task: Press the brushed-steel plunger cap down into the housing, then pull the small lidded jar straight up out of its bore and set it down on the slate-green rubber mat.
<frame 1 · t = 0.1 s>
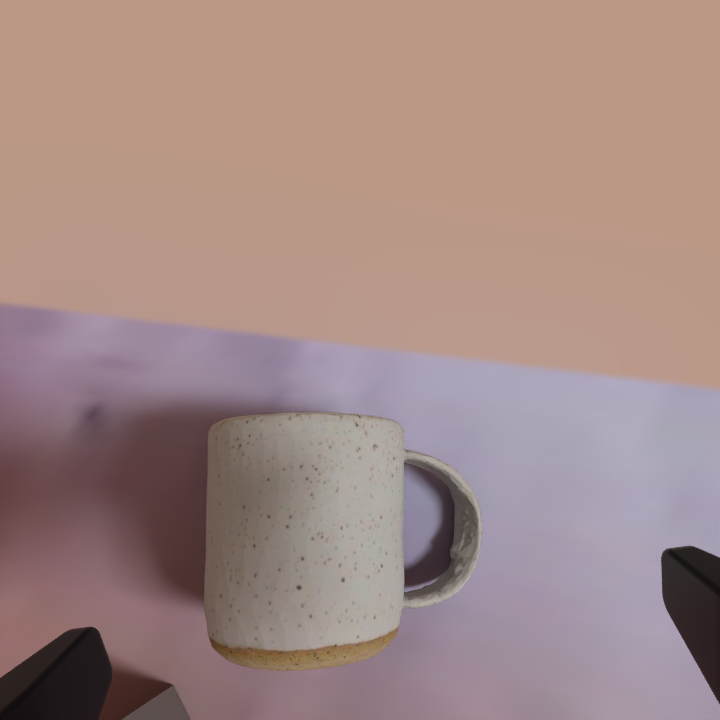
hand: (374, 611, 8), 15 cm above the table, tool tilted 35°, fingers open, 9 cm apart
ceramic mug: (353, 520, 23), on the table
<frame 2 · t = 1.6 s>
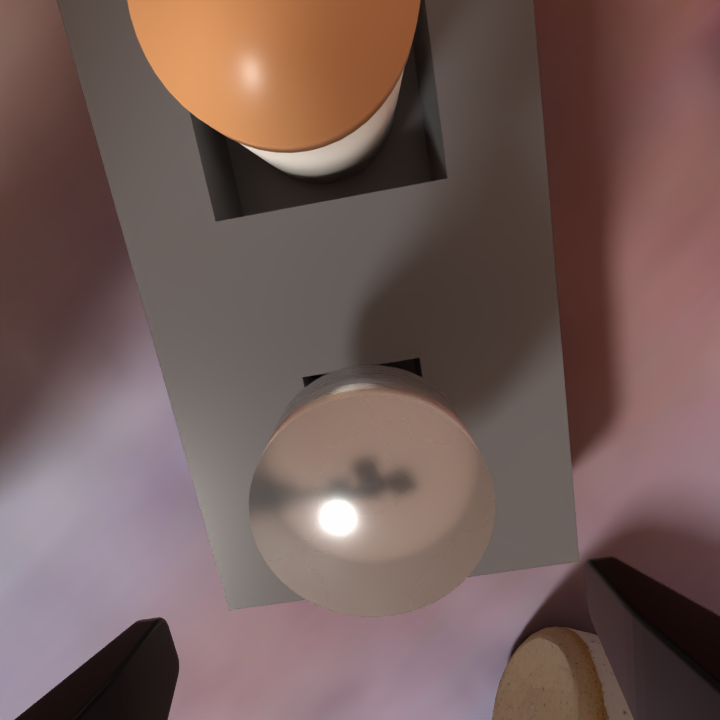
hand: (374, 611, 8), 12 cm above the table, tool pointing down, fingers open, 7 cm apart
small lidded jar: (319, 103, 17), resting on housing
housing: (347, 255, 18), on the table
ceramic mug: (572, 694, 23), on the table
plunger: (370, 446, 14), point 6 cm above the table, slide at 0.0 cm
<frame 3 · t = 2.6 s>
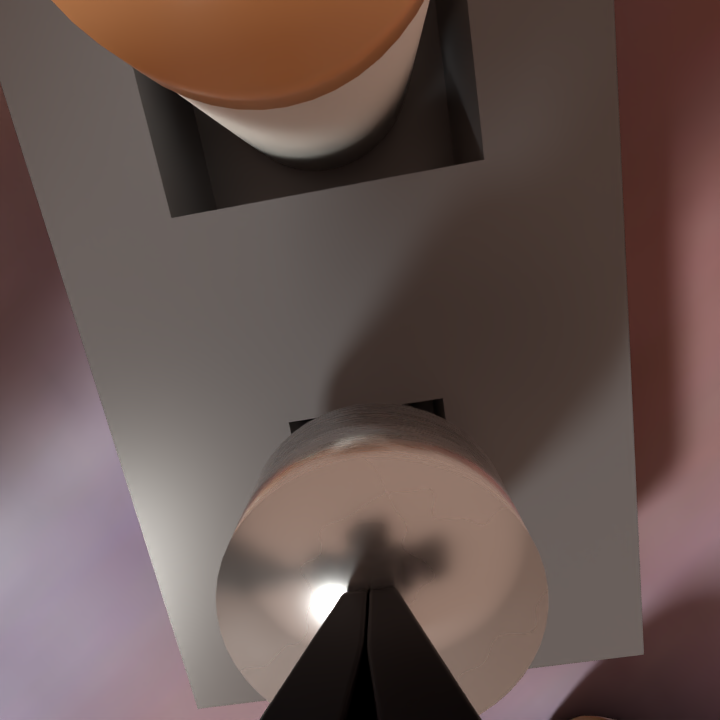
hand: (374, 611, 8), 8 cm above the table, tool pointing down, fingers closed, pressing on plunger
small lidded jar: (312, 67, 13), resting on housing
housing: (348, 260, 15), on the table
plunger: (378, 499, 11), point 5 cm above the table, slide at 1.0 cm, touching gripper
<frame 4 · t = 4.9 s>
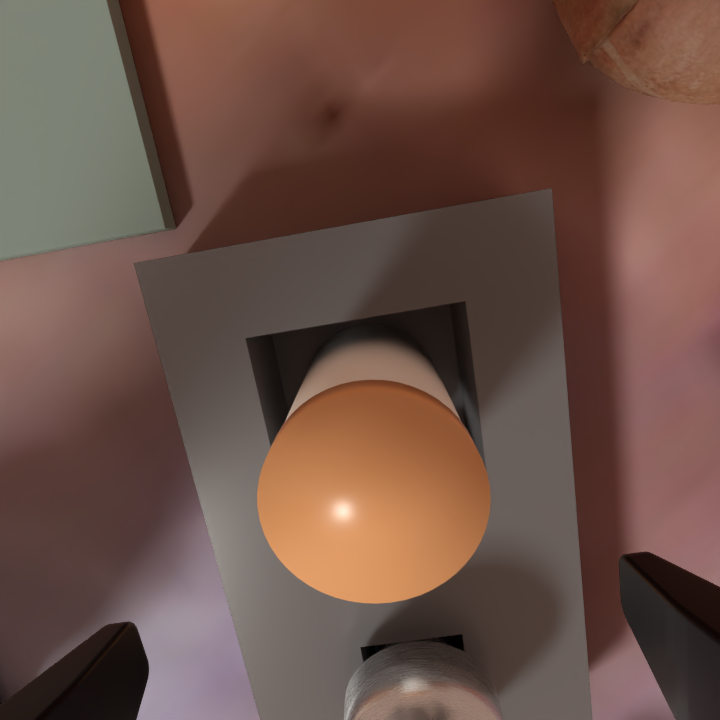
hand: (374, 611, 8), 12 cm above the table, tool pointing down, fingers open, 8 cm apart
small lidded jar: (372, 389, 19), resting on housing
housing: (392, 500, 21), on the table
plunger: (418, 679, 18), point 4 cm above the table, slide at 1.9 cm, touching housing
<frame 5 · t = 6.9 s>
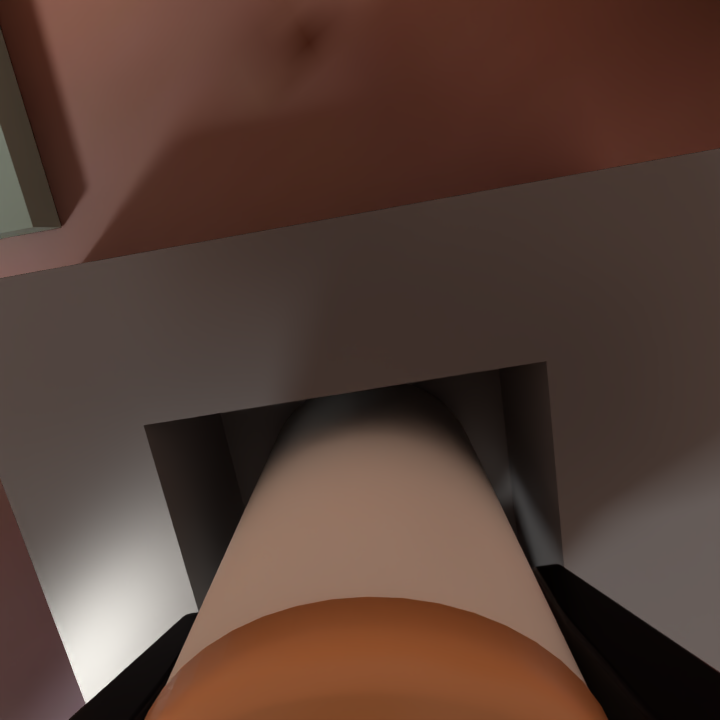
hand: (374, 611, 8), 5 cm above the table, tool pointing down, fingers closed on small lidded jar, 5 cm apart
small lidded jar: (372, 476, 12), point 1 cm above the table, touching gripper, housing
housing: (402, 630, 14), on the table
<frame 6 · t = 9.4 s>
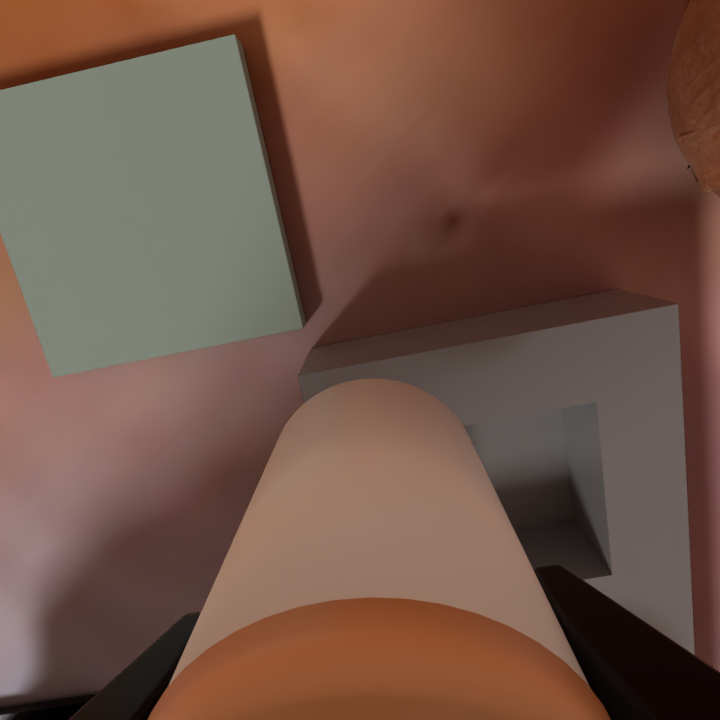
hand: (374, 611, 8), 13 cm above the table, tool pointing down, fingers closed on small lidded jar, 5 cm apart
mat: (148, 220, 19), on the table
small lidded jar: (373, 476, 12), point 8 cm above the table, touching gripper
housing: (498, 559, 22), on the table
when the fingers open (7 cm above the table, at t = 11.9 s): small lidded jar drops 1 cm, resting on mat.
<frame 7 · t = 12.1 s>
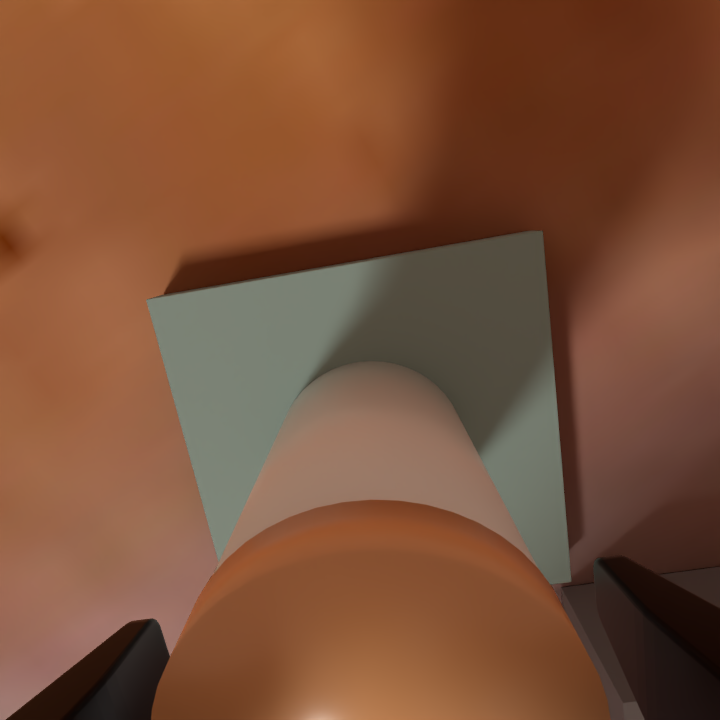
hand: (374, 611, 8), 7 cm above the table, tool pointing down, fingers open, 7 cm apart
mat: (372, 435, 15), on the table
small lidded jar: (371, 450, 14), point 1 cm above the table, touching mat
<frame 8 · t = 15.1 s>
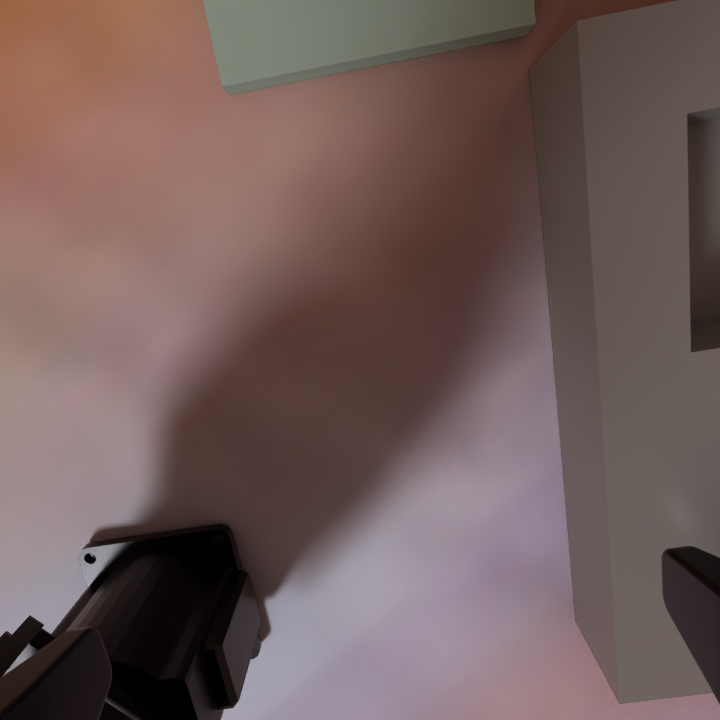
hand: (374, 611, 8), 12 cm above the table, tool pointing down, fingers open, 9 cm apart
housing: (715, 357, 19), on the table
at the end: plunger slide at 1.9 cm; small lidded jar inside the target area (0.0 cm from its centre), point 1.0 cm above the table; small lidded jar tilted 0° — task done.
